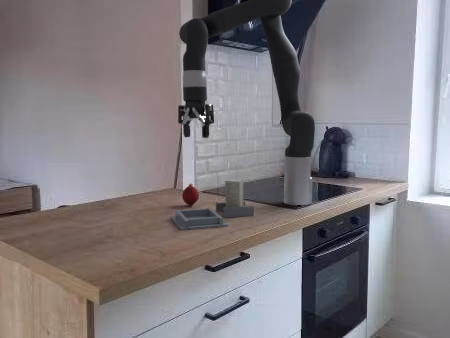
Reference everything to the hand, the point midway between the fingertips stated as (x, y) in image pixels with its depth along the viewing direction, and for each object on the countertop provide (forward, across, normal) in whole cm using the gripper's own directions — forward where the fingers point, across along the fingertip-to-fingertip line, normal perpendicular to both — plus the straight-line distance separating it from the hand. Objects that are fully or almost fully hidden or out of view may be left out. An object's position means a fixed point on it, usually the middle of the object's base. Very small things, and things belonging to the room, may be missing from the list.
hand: (196, 137), depth 132 cm
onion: (+25, +9, -5) cm, 27 cm away
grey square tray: (+25, -9, +8) cm, 28 cm away
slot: (+25, -10, -7) cm, 28 cm away
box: (+25, -10, -7) cm, 28 cm away
